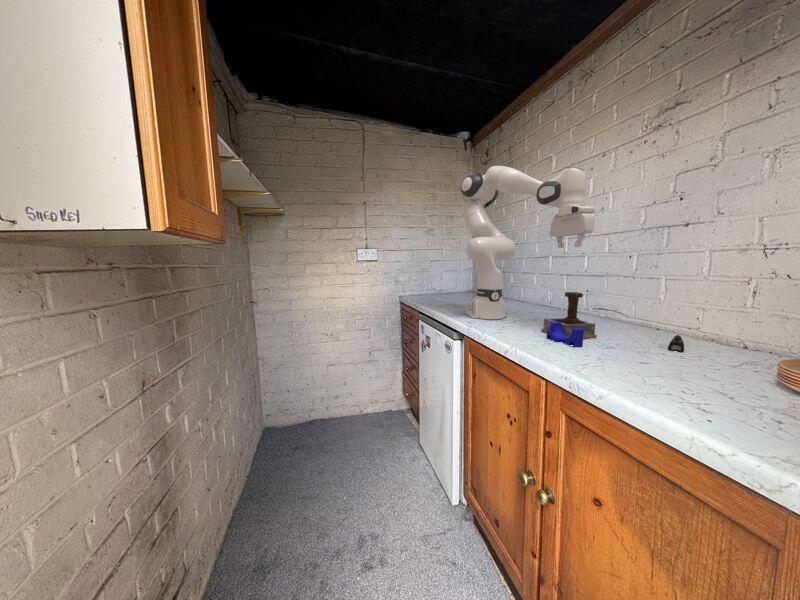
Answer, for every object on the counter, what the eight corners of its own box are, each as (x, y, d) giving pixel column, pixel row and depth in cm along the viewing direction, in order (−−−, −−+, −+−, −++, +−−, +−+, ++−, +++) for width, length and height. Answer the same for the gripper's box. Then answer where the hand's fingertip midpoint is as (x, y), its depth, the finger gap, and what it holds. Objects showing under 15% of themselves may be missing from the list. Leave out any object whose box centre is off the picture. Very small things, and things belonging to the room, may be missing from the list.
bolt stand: (541, 331, 121) (542, 318, 120) (570, 330, 123) (571, 317, 122) (564, 340, 108) (565, 325, 107) (596, 338, 110) (597, 324, 110)
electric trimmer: (685, 344, 104) (686, 335, 104) (683, 353, 93) (684, 343, 93) (670, 342, 107) (671, 333, 106) (667, 351, 96) (668, 341, 95)
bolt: (581, 334, 111) (584, 293, 109) (565, 333, 112) (569, 293, 110) (575, 330, 117) (578, 291, 115) (560, 330, 118) (563, 291, 116)
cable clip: (546, 338, 111) (547, 322, 110) (557, 338, 112) (558, 322, 111) (570, 348, 99) (571, 330, 98) (582, 347, 100) (583, 329, 99)
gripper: (546, 214, 129) (544, 248, 130) (583, 206, 109) (580, 245, 110) (560, 215, 130) (558, 248, 131) (599, 207, 110) (596, 246, 111)
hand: (568, 247), depth 121 cm, fingers open, 8 cm apart
